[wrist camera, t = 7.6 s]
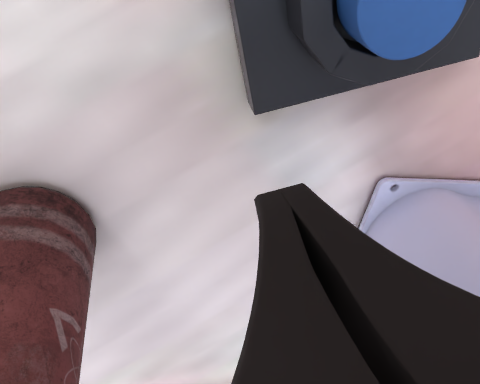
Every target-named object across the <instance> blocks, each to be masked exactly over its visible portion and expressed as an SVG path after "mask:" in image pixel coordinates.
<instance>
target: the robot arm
mask: <svg viewBox="0 0 480 384" xmlns="http://www.w3.org/2000/svg"><path fill="white" fill-rule="evenodd" d="M393 185H395V186H394V187H392V186H393ZM391 187H392V188H391ZM254 201H255V205H256V210H257V215H258V220H259V260H258V270H257V280H256V287H255V294H254V300H253V305H252V310H251V315H250V320H249V324H248V328H247V332H246V336H245V340H244V344H243V348H242V352H241V355H240V358H239V361H238V365H237V368H236V371H235V374H234V377H233V380H232V383H231V384H480V181H475V180H446V179H417V178H389V177H387V178H383V179H381V180H380V181H379V182H378V183H377V185H376V188H375V190H374V193H373V195H372V197H371V200H370V202H369V205H368V207H367V210H366V212H365V214H364V217H363V219H362V222H361V224H360V227H359V229H358V228H357V227H355V226H354V225H353V224H351V223H350V222H349V221H347V220H346V219H345V218H343V217H342V216H341V215H340V214H338V213H337V212H336V211H335V210H334V209H332V208H331V207H330V206H329V205H328V204H326V203H325V202H324V201H323V200H322V199H321V198H319V197H318V196H317V195H316V194H315V193H314V192H313V191H312V190H311V189H310V188H308V187H307V186H306V185H305V184H303V183H301V184H297V185H293V186H290V187H286V188H282V189H278V190H275V191H271V192H267V193H264V194H260V195H257V197H256V198H255V199H254Z"/></svg>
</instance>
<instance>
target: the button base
mask: <svg viewBox="0 0 480 384" xmlns="http://www.w3.org/2000/svg"><path fill="white" fill-rule="evenodd" d="M229 3H230V8H231V13H232V19H233V24H234V29H235V34H236V40H237V45H238V50H239V56H240V61H241V66H242V72H243V77H244V82H245V88H246V93H247V98H248V102H249V104H250V106H251V108H252V110H253V112H254V114H255V115H257V114H261V113H265V112H269V111H273V110H277V109H280V108H284V107H288V106H292V105H296V104H300V103H303V102H307V101H311V100H315V99H319V98H323V97H326V96H330V95H334V94H338V93H342V92H346V91H349V90H353V89H357V88H361V87H365V86H369V85H373V84H377V83H380V82H384V81H388V80H392V79H396V78H400V77H404V76H407V75H411V74H415V73H419V72H422V71H426V70H430V69H434V68H438V67H442V66H445V65H449V64H453V63H457V62H461V61H465V60H468V59H472V58H476V57H479V54H480V0H466V3H465V6H464V8H463V11H462V13H461V15H460V17H459V19H458V20H457V22H456V23H455V25H454V26H453V28H452V29H451V30H450V32H449V33H448V34H447V35H446V36H445V37H444V38H443V39H442V40H441V41H440V42H439V43H438V44H437V45H435V46H434V47H433V48H431V49H430V50H428V51H426V52H425V53H423V54H421V55H418V56H416V57H413V58H409V59H404V60H389V59H385V58H382V57H380V56H377V55H376V54H374V53H373V52H371V51H370V50H369V49H367V48H366V47H364V46H363V45H362V44H360V43H359V42H357V41H356V40H355V39H353V38H352V37H351V36H350V35H349V34H348V33H347V32H346V31H345V29H344V28H343V26H342V24H341V22H340V19H339V16H338V12H337V0H229Z"/></svg>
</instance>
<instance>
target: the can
mask: <svg viewBox="0 0 480 384" xmlns="http://www.w3.org/2000/svg"><path fill="white" fill-rule="evenodd" d="M95 247H96V228H95V226H94V224H93V222H92V220H91V218H90V216H89V214H88V213H87V212H86V211H85V210H84V209H83V208H82V207H81V206H80V205H79V204H78V203H76V202H75V201H74V200H73V199H71V198H69V197H67V196H66V195H64V194H62V193H60V192H58V191H54V190H50V189H46V188H43V187H18V188H14V189H9V190H4V191H0V384H79V378H80V370H81V361H82V353H83V345H84V337H85V329H86V320H87V312H88V304H89V296H90V288H91V279H92V271H93V263H94V255H95Z"/></svg>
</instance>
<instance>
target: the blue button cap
mask: <svg viewBox="0 0 480 384" xmlns="http://www.w3.org/2000/svg"><path fill="white" fill-rule="evenodd" d="M465 3H466V0H337V12H338V16H339V19H340V22H341V24H342V26H343V28H344V29H345V31H346V32H347V33H348V34H349V35H350V36H351V37H352V38H353V39H355V40H356V41H357V42H359V43H360V44H362V45H363V46H364V47H366V48H367V49H369V50H370V51H371V52H373V53H374V54H376V55H377V56H380V57H382V58H385V59H389V60H404V59H409V58H413V57H416V56H418V55H421V54H423V53H425V52H426V51H428V50H430V49H431V48H433V47H434V46H435V45H437V44H438V43H439V42H440V41H441V40H442V39H443V38H444V37H445V36H446V35H447V34H448V33H449V32H450V30H451V29H452V28H453V26H454V25H455V23H456V22H457V20H458V19H459V17H460V15H461V13H462V11H463V8H464V6H465Z"/></svg>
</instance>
